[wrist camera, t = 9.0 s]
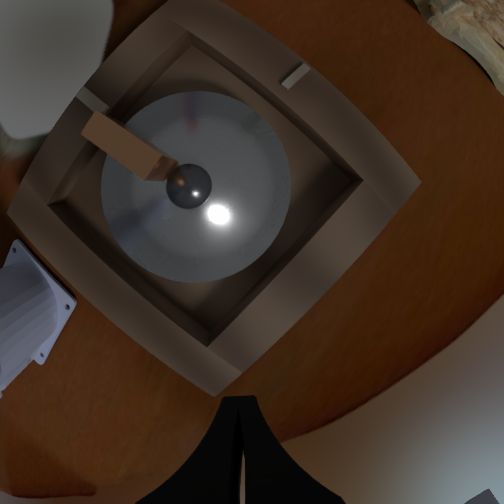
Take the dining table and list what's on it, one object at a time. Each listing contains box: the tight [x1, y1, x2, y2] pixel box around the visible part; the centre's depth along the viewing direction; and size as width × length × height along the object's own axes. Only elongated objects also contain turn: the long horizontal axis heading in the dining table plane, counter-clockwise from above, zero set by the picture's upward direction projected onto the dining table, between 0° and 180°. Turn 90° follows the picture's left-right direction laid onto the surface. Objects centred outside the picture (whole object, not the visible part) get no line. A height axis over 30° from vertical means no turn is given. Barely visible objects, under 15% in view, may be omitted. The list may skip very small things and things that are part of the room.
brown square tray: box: [7, 0, 421, 397], centre depth 18 cm, size 20×20×4 cm
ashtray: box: [414, 0, 504, 95], centre depth 14 cm, size 24×24×5 cm
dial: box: [81, 91, 291, 283], centre depth 15 cm, size 11×11×5 cm
